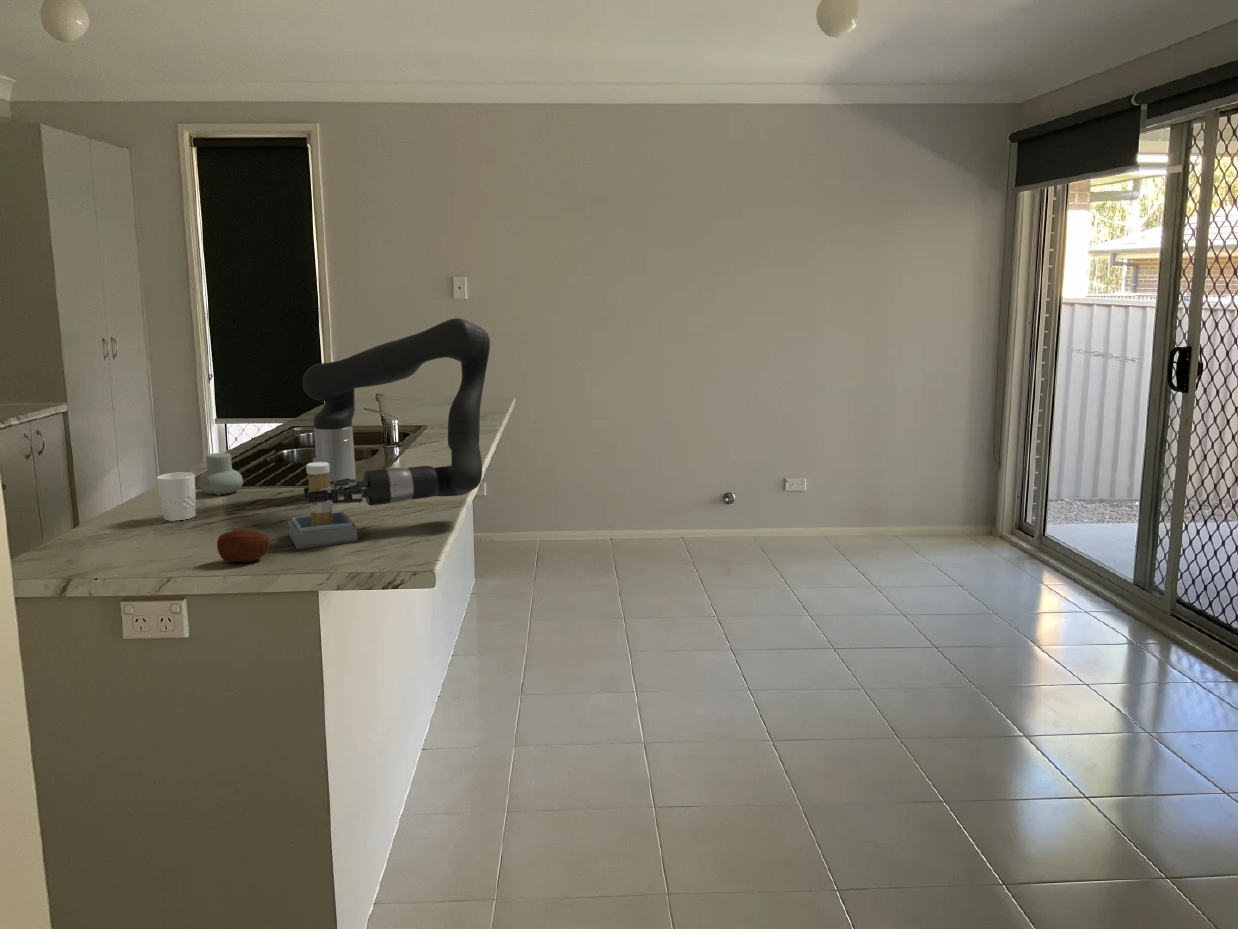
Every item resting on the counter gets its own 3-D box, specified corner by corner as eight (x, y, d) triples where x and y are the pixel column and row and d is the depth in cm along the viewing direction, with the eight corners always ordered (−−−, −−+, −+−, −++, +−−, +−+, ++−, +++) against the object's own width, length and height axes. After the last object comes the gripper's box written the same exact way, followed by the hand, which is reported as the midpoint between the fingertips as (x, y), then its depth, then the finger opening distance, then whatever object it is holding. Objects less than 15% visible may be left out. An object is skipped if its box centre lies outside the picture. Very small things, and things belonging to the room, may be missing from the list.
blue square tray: (297, 549, 195) (295, 530, 194) (289, 535, 206) (287, 517, 205) (357, 541, 200) (356, 523, 199) (346, 528, 211) (345, 510, 210)
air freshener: (247, 493, 247) (244, 454, 245) (216, 498, 241) (212, 459, 239) (227, 487, 255) (223, 450, 253) (196, 492, 249) (192, 454, 247)
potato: (228, 556, 191) (225, 524, 190) (275, 555, 191) (273, 523, 190) (214, 566, 184) (211, 533, 183) (263, 565, 184) (260, 533, 183)
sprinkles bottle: (306, 526, 202) (301, 464, 199) (325, 522, 206) (320, 460, 203) (319, 530, 199) (314, 466, 197) (338, 525, 203) (333, 462, 200)
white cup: (206, 515, 224) (202, 473, 222) (181, 523, 217) (176, 480, 215) (179, 513, 227) (175, 471, 225) (153, 521, 220) (148, 478, 218)
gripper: (380, 463, 213) (299, 471, 205) (395, 474, 200) (309, 484, 193) (382, 496, 214) (302, 505, 207) (397, 509, 202) (312, 520, 194)
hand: (306, 495), depth 200 cm, fingers closed on sprinkles bottle, 4 cm apart
